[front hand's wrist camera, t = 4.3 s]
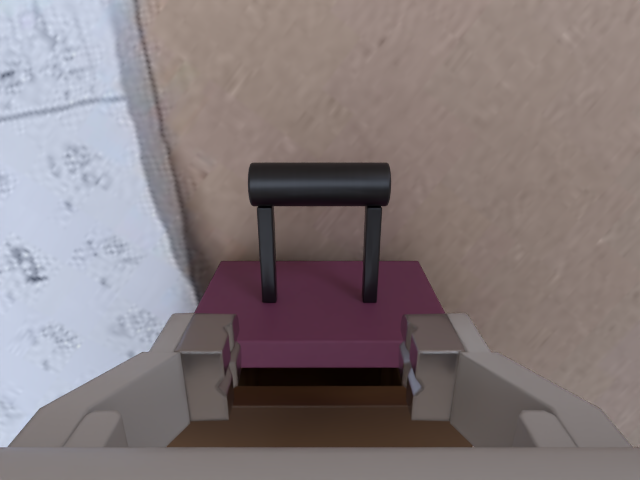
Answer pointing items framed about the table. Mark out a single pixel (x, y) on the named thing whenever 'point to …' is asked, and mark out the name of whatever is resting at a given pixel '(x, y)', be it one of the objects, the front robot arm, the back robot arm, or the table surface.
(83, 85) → the table surface
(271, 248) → the drawer
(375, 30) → the table surface
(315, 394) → the cabinet
